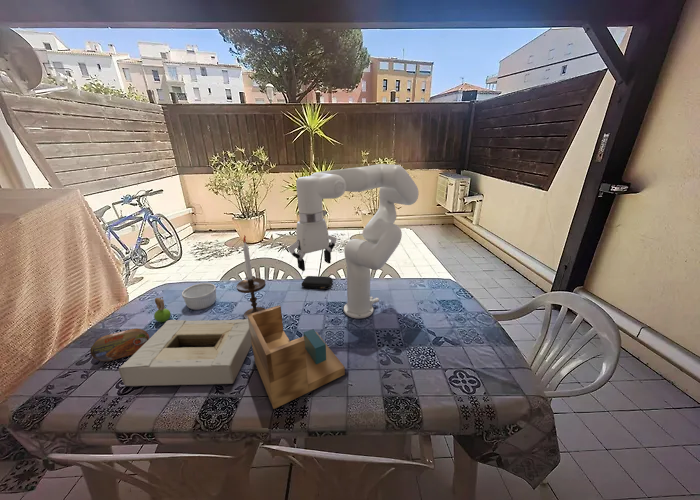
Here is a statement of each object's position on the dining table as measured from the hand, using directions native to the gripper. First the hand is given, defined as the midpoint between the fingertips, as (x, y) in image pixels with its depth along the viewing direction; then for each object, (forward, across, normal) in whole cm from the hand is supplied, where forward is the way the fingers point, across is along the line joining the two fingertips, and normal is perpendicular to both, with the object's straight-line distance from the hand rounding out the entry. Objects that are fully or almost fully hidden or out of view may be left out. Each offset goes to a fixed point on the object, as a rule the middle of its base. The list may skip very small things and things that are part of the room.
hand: (315, 265), depth 92 cm
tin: (+26, +60, -26) cm, 70 cm away
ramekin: (+27, +34, -48) cm, 64 cm away
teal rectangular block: (+24, +8, +12) cm, 28 cm away
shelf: (+27, +14, +12) cm, 33 cm away
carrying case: (+28, -16, -34) cm, 47 cm away
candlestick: (+27, +17, -25) cm, 41 cm away
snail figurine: (+26, +48, -41) cm, 69 cm away
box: (+26, +40, -11) cm, 49 cm away
